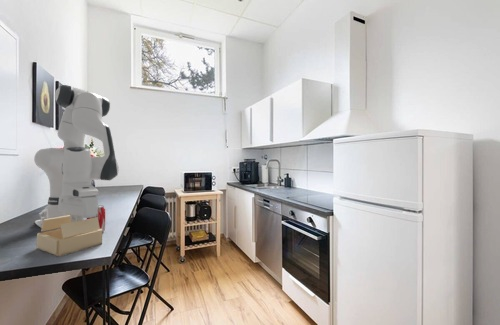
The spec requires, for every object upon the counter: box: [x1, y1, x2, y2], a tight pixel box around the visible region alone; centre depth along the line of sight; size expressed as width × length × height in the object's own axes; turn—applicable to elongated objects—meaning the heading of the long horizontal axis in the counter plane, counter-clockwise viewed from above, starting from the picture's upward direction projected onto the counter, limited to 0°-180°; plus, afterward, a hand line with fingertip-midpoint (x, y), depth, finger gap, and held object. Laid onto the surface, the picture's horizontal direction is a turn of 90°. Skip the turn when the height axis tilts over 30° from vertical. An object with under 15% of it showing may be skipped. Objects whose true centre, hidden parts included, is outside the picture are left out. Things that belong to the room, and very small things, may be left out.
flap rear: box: [40, 215, 71, 233], centre depth 90 cm, size 1×12×5 cm, turn 152°
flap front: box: [60, 217, 100, 238], centre depth 84 cm, size 1×12×5 cm, turn 152°
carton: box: [36, 228, 103, 258], centre depth 87 cm, size 16×15×6 cm
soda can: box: [86, 204, 106, 233], centre depth 103 cm, size 7×7×12 cm
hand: (76, 226), depth 85 cm, fingers closed
